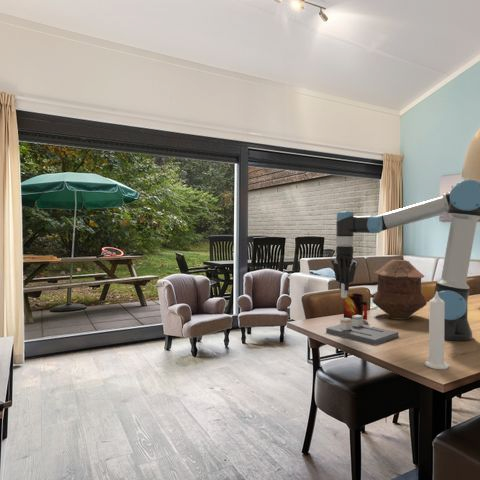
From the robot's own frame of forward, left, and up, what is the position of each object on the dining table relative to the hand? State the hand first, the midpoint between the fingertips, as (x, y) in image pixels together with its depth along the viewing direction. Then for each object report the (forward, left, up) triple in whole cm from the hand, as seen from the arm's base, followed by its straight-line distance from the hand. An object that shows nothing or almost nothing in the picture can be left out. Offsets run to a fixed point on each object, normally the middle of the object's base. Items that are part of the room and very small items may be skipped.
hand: (344, 297), depth 173 cm
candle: (-48, +15, -15) cm, 52 cm away
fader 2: (-5, -4, -13) cm, 14 cm away
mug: (+10, -24, -15) cm, 30 cm away
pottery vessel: (-3, -43, -15) cm, 46 cm away
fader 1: (-5, +5, -13) cm, 14 cm away
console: (-10, +1, -15) cm, 18 cm away
